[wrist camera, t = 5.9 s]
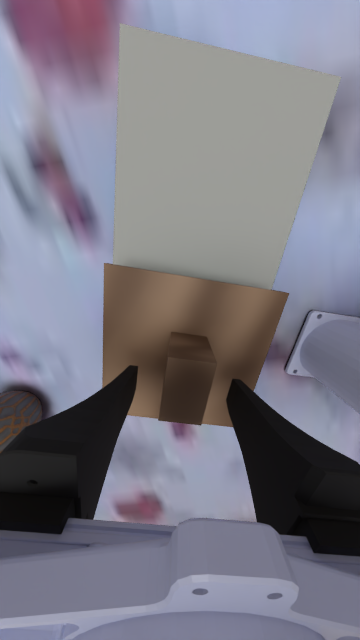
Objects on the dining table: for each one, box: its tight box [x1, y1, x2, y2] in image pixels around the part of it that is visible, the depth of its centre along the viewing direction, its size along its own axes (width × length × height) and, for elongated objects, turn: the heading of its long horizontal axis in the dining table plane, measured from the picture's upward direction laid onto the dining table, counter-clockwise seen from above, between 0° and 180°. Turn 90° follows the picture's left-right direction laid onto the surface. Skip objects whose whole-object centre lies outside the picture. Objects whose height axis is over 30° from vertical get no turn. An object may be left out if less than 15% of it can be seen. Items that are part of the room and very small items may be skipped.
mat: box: [113, 23, 341, 290], centre depth 14 cm, size 16×16×1 cm
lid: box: [102, 263, 289, 427], centre depth 13 cm, size 14×14×5 cm
